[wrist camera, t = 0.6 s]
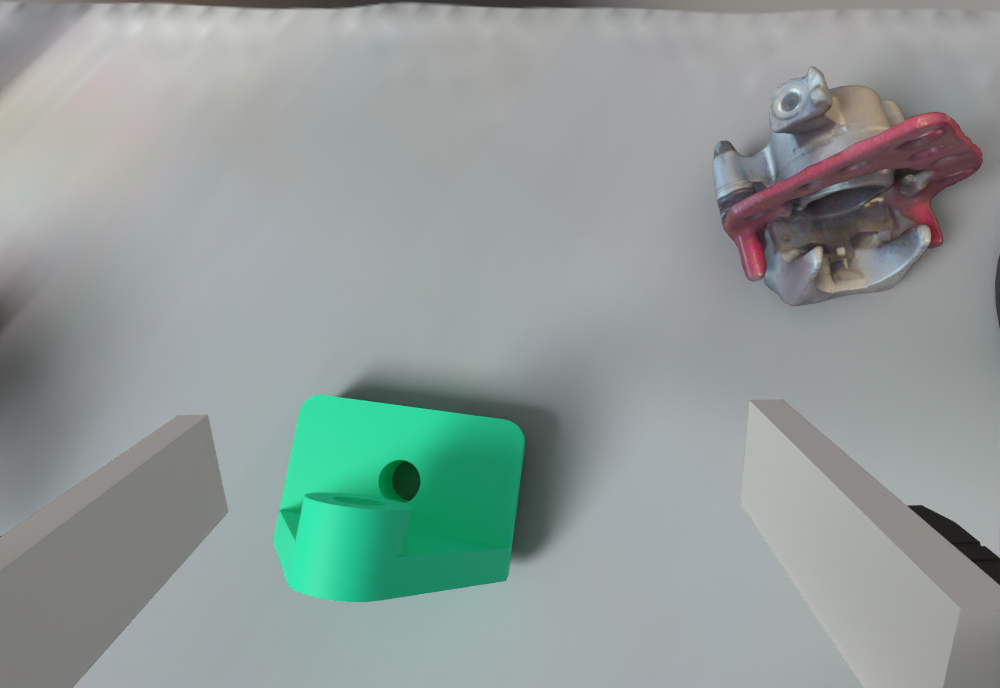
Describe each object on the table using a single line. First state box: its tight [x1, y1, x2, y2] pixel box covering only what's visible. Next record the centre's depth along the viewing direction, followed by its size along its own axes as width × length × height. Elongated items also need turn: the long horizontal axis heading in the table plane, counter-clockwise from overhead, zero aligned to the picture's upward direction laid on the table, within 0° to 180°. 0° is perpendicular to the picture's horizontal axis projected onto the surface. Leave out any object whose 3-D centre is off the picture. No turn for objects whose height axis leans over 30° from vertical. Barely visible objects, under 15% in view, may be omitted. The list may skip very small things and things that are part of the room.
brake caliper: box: [712, 66, 983, 306], centre depth 28 cm, size 11×11×12 cm
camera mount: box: [273, 395, 525, 602], centre depth 26 cm, size 12×8×10 cm, turn 82°
